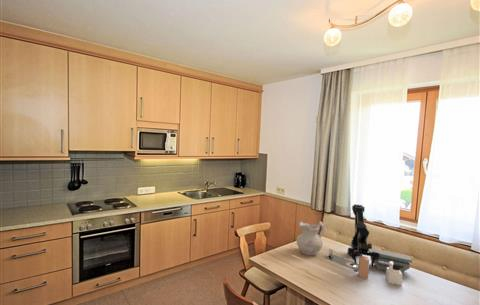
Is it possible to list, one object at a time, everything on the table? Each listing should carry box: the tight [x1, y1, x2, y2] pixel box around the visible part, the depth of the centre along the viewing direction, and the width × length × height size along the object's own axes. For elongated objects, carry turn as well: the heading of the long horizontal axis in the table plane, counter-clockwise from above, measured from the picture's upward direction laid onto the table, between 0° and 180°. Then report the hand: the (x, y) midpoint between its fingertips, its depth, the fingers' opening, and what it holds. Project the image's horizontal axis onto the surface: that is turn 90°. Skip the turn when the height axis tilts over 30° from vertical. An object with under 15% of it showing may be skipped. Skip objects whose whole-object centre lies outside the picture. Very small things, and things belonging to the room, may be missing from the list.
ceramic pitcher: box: [296, 220, 325, 256], centre depth 191 cm, size 22×20×25 cm
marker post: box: [357, 255, 370, 280], centre depth 159 cm, size 5×5×12 cm
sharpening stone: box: [368, 248, 413, 274], centre depth 170 cm, size 25×8×11 cm, turn 63°
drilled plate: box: [325, 254, 359, 273], centre depth 176 cm, size 11×23×1 cm, turn 42°
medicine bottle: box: [385, 261, 403, 286], centre depth 154 cm, size 7×7×12 cm
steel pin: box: [328, 248, 334, 257], centre depth 184 cm, size 2×2×6 cm
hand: (364, 266), depth 158 cm, fingers open, 9 cm apart
